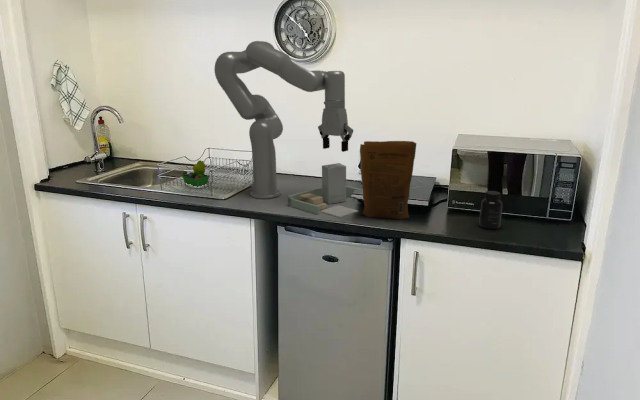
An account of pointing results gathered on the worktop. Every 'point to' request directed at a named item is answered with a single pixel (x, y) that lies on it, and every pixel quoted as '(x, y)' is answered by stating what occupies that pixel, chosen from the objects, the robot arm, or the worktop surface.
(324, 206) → the bottom offcut
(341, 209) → the mat
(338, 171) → the skincare box
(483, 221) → the supplement bottle
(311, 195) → the top offcut
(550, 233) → the worktop surface
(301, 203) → the tray
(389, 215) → the pancake mix bag
